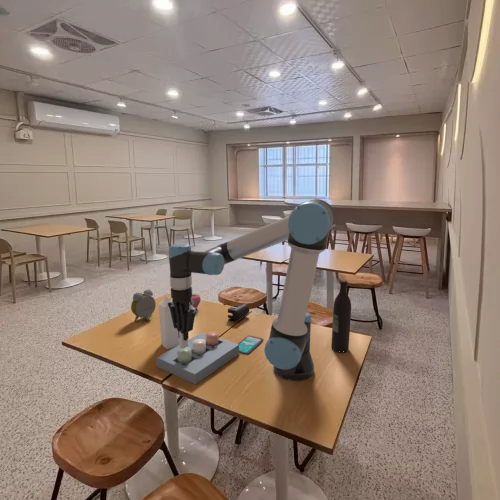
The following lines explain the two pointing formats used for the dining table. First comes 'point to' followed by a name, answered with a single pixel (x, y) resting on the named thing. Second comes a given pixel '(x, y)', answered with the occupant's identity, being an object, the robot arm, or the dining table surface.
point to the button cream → (199, 346)
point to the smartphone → (249, 344)
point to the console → (198, 359)
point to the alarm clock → (143, 304)
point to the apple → (195, 300)
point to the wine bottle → (341, 319)
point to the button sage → (184, 355)
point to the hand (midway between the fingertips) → (183, 347)
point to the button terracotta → (212, 338)
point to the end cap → (238, 312)
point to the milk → (167, 325)
